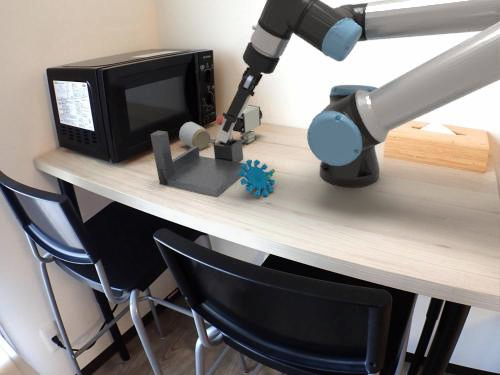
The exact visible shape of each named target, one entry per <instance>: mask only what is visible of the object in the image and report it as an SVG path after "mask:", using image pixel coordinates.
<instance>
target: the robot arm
mask: <svg viewBox="0 0 500 375" xmlns="http://www.w3.org/2000/svg"><path fill="white" fill-rule="evenodd" d="M252 30H253V32H252V34H251V36H250V38H249V39H250V42H248V43H247V45H246V48H245V50H244V52H243V54H242V60H243V62H244V63H245V65H246V66H247V67H246V69H245V70H244V72H243V73H242V76H241V79H240V82H239V83H238V86H237V91H236V93H235V95H234V97H233V100H232V101H231V103H230V106H229V107H228V109H227V111H226V112H222V115H223V116H224V120H223V122H222V124H221V125H220V127H219V130H218V131H217V134H216V135H215V139H217V140H218V141H222V142H224V143H226V142H227V140H228V138H229V136H230V134H231V132H232V133H233V127H234V125H235V123H236V121H237V117H238V118H240V117H241V115H242V113H243V111H244V109H245V107H246V106H248V102H249V100H250V98H251V97H254V96H255V92H254V91H255V89H256V87H257V86H259V83H260V82H261V80H262V77H263V74H264V75H270V74H272V73H274V72H275V70H276V68H277V67H278V66H277V65H278V63H279V61H280V57H282V56H283V55H284V52H285V50H286V49H287V47H288V44H289V43H290V41H291V38H292V35H293V34H294V35H295V36H297V37H299V38H301V39H302V40H303V41H305V42H306V43H307V44H309V45H310V46H312V47H313V48H315V49H316V50H318V51H319V52H321V53H322V54H323V55H324V56H325V57H329V58H331V59H333V60H334V61H336V62H343V61H344V60H346V59H347V57H348V56H349V55H350V53H352V50H353V49H354V48H355V46H356V45H357V43H358V42H366V41H374V40H375V41H377V40H389V39H399V38H400V39H403V38H412V37H413V38H414V37H424V36H425V37H426V36H435V35H436V36H437V35H450V34H462V33H474V32H477V33H476V34H474V35H473V36H471V37H468V38H467V39H465V40H464V41H462V42H460V43H458V44H457V45H454V46H452V47H451V48H449V49H447V50H445V51H443V52H442V53H440V54H438V55H436V56H434V57H432V58H431V59H428V60H427V61H425V62H423V63H422V64H420V65H418V66H416V67H414V68H412V69H411V70H409V71H407V72H405V73H404V74H401V75H400V76H398V77H396V78H394V79H393V80H391V81H388V82H386V83H385V84H383V85H381V86H379V87H375V86H373V85H371V86H370V85H360V84H341V85H339V84H338V85H334V86H333V87H331V89H330V93H329V95H328V96H329V104H328V105H327V106H326V107H325V108H323V110H321V111H320V112H319V113H318V114H316V115H315V116H314V117H313V119H312V121H311V123H310V124H309V127H308V129H307V134H306V137H307V138H306V139H307V144H308V145H307V146H309V149H310V151H311V152H312V154H313V155H314V157H315V158H317V159H318V160H319V161H320V164H319V175H320V176H319V177H321V179H322V180H324V181H326V182H327V183H330V184H332V185H336V186H340V187H347V188H357V187H358V188H359V187H366V186H369V185H371V184H374V183H375V182H377V181H378V179H379V174H380V164H379V160H378V157H377V152H376V146H378V145H379V144H382V143H384V142H385V141H386V140H387V137H388V135H389V132H390V131H392V130H394V129H397V128H398V127H400V126H403V125H405V124H407V123H409V122H412V121H414V120H416V119H417V118H420V117H422V116H424V115H427V114H428V113H431V112H434V111H435V110H438V109H439V108H442V107H444V106H446V105H448V104H450V103H452V102H456V101H457V100H459V99H461V98H463V97H465V96H467V95H470V94H472V93H474V92H476V91H478V90H481V89H483V88H485V87H487V86H489V85H492V84H493V83H496V82H498V81H500V0H377V1H371V2H370V1H369V2H365V3H364V2H363V3H355V4H351V3H350V4H342V5H340V6H338V7H334V8H333V7H331V6H330V5H328V4H326V3H325V2H323V1H322V0H265V4H264V6H263V9H262V11H261V14H260V16H259V18H258V20H257V23H256V24H253V25H252Z"/></svg>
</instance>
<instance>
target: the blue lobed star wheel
mask: <svg viewBox="0 0 500 375" xmlns="http://www.w3.org/2000/svg"><path fill="white" fill-rule="evenodd" d="M246 164H247V165H248V169H247V167H246ZM252 164H253V166H252ZM260 164H261V161H260V160H258V159H255V160H254V161H253V160H252V159H247V160H246V161H245V162H243V164H242V165H241V166H240V167H241V168H242V169H243V170H244V171H245V172H246V173H244V171H243V170H240V171H239V173H238V175H239V176H241V177H242V178H241V179H240V181H239V182H240V185H242V186H243V185H245V190H246V192H247V193H251V192H252V191H253V190H254V189H256V191H254V193H253V196H255V197H256V198H258V197H259V196H260V195H262V197H267V196H268V195H269V193H271V192H273V191H274V187H272V186H274V185H276V184H275V183H276V180H275V179H273V178H272V177H273V175H274V174H275V172H276V170H275V169H274V168H272V169H270V171H267V169H268V165H267V164H266V163H263V164H262V165H261V167H258V166H259V165H260ZM261 190H262V193H261Z"/></svg>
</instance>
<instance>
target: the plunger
mask: <svg viewBox="0 0 500 375" xmlns="http://www.w3.org/2000/svg"><path fill="white" fill-rule="evenodd" d="M223 120H224V116H223V114H219V115H217V116H216V123H217V125H219V126H221V124H222V122H223ZM233 137H234V136H233V131H232V132H231V134H230V136H229V138H228V140H227V142H226V143H224V142H223V145H228V146H231V145H232V144H233V139H234V138H233Z"/></svg>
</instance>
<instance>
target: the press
mask: <svg viewBox="0 0 500 375" xmlns="http://www.w3.org/2000/svg"><path fill="white" fill-rule="evenodd" d="M150 139H151V140H150V141H151V145H152V151H153V156H154V162H155V165H156V172H157V176H158V183H159V185H162V186H166V187H170V188H176V189H179V190H184V191H189V192H192V193H198V194H202V195H206V196H209V197H210V196H211V197H215V198H218V197H219V196H221V195H222V194H223V193H224V192H226V190H227V189H228V188H230V187H231V186H232V185H233V184H234V183H235V182H237V181H238V180H239V179H240V178H241V177H242V176H239V175H238V173H239V171H240V170H243V169H242V168H241V167H240V166H241V165H242V164H243V163H244V162H243V163H241V162H242V161H243V160H244V148H243V142H242V140H240V139H237V138H236V139H235V138H233V144H232V145H231V146H228V145H223V142H222V141H220V140H218V141H217V142H216V143H213V153H214V157H208V156H201V155H200V150H199V148H198V146H194V147H190V149H188V150H186V151H184V152H183V153H181V154H180V155H177V156H176V157H174V158H173V157H172V150H171V144H170V139H169V133H168V131H165V130H163V131H162V130H157V131H153V132H152V133H150ZM245 164H246V167H247V169H249V168H248V165H247V163H245ZM243 171H244V170H243ZM244 173H245V174H246V172H245V171H244Z"/></svg>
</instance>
